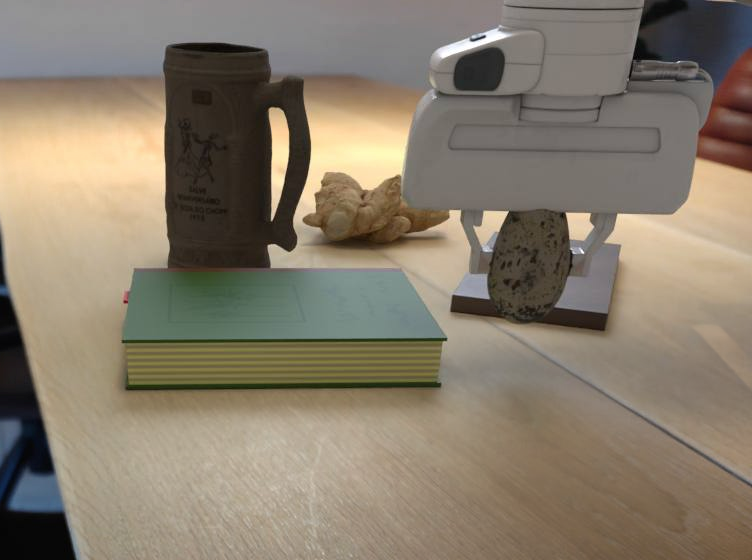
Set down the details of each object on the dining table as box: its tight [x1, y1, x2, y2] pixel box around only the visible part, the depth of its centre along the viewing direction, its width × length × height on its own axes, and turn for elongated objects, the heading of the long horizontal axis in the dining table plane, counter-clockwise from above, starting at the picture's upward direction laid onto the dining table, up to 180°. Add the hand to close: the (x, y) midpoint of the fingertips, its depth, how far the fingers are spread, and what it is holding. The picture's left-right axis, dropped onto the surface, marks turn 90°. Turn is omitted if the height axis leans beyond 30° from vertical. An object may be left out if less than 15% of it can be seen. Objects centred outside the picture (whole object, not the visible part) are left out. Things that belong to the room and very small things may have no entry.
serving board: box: [449, 231, 622, 331], centre depth 93 cm, size 26×14×2 cm, turn 160°
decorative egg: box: [487, 209, 570, 325], centre depth 68 cm, size 6×6×10 cm
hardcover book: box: [121, 267, 448, 390], centre depth 76 cm, size 25×19×4 cm
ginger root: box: [301, 171, 451, 244], centre depth 105 cm, size 16×16×8 cm
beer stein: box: [162, 41, 312, 268], centre depth 88 cm, size 15×11×20 cm
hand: (526, 273), depth 69 cm, fingers closed on decorative egg, 6 cm apart
